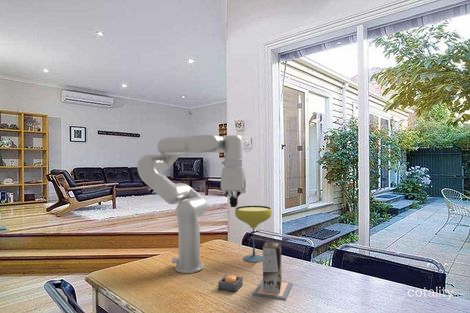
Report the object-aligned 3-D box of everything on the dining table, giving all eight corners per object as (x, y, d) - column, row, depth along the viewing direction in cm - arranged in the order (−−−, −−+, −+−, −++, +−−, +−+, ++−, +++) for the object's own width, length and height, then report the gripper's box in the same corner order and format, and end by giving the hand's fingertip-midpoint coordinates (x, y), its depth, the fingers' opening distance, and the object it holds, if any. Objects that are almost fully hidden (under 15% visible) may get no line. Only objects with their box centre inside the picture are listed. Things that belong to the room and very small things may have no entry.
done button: (223, 286, 114) (223, 278, 114) (227, 281, 118) (227, 274, 118) (234, 287, 112) (233, 280, 112) (237, 283, 116) (237, 276, 116)
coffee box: (280, 293, 107) (279, 248, 108) (262, 291, 109) (262, 247, 109) (282, 283, 116) (281, 241, 116) (265, 282, 118) (265, 240, 118)
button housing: (218, 289, 113) (218, 281, 113) (225, 282, 120) (225, 274, 120) (236, 292, 110) (236, 284, 110) (242, 284, 117) (242, 277, 117)
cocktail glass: (231, 255, 154) (230, 206, 155) (263, 251, 160) (262, 204, 160) (242, 267, 137) (241, 212, 137) (278, 262, 142) (277, 209, 143)
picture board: (252, 295, 108) (252, 293, 108) (262, 280, 121) (262, 278, 121) (285, 300, 104) (285, 298, 104) (292, 284, 117) (292, 282, 117)
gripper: (213, 164, 128) (214, 207, 128) (247, 164, 123) (247, 208, 122) (220, 164, 135) (221, 204, 135) (252, 163, 130) (253, 206, 129)
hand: (233, 206), depth 129 cm, fingers closed
